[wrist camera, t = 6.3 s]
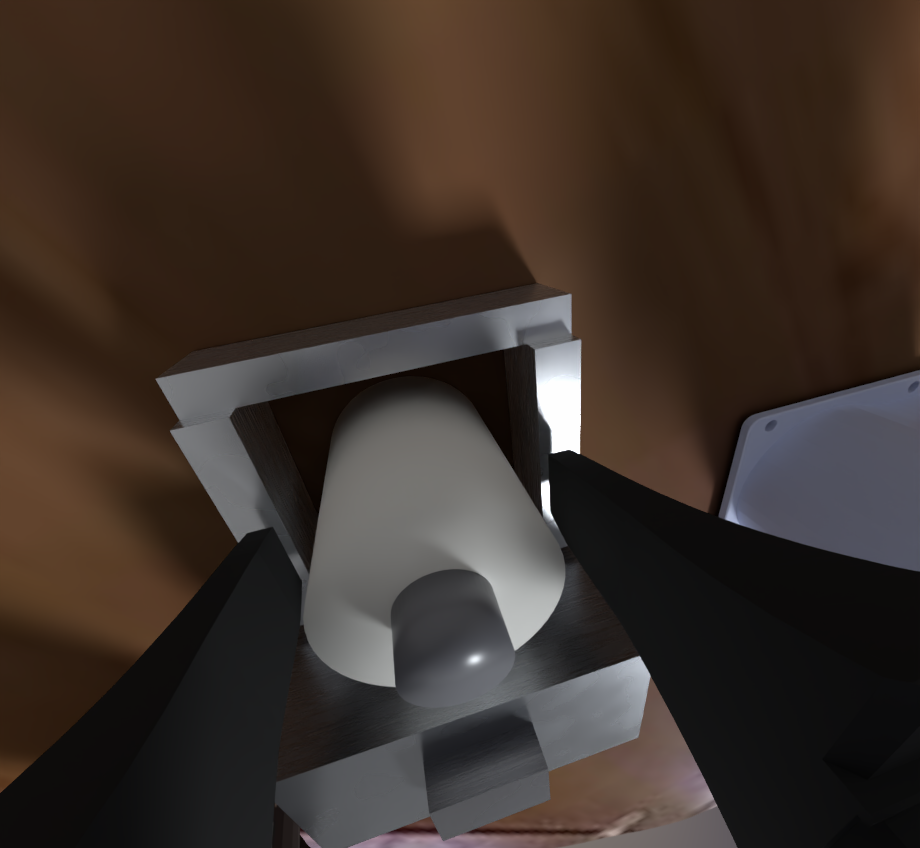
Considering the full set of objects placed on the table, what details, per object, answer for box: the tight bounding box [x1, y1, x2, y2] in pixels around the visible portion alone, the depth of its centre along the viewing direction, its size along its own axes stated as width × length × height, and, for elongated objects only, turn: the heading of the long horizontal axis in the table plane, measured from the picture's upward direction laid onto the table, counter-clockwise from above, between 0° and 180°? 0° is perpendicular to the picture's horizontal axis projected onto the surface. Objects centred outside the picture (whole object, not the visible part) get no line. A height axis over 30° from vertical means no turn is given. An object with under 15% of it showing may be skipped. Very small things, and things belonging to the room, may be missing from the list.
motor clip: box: [156, 283, 650, 848], centre depth 11 cm, size 12×14×7 cm
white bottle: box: [303, 376, 565, 708], centre depth 9 cm, size 5×5×7 cm
